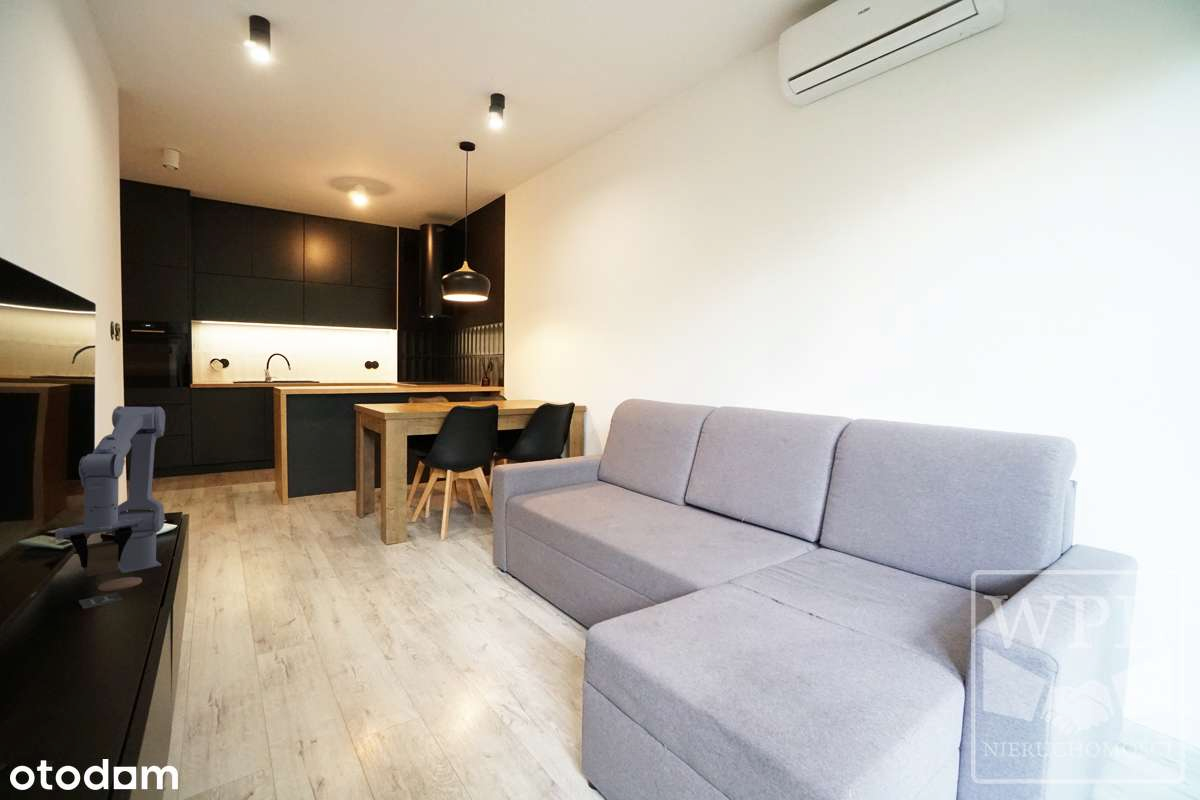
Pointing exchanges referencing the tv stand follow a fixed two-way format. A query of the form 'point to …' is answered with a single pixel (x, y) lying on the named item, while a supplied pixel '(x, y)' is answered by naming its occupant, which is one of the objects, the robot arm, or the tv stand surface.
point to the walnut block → (101, 558)
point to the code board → (99, 600)
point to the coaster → (120, 584)
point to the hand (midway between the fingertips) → (100, 563)
